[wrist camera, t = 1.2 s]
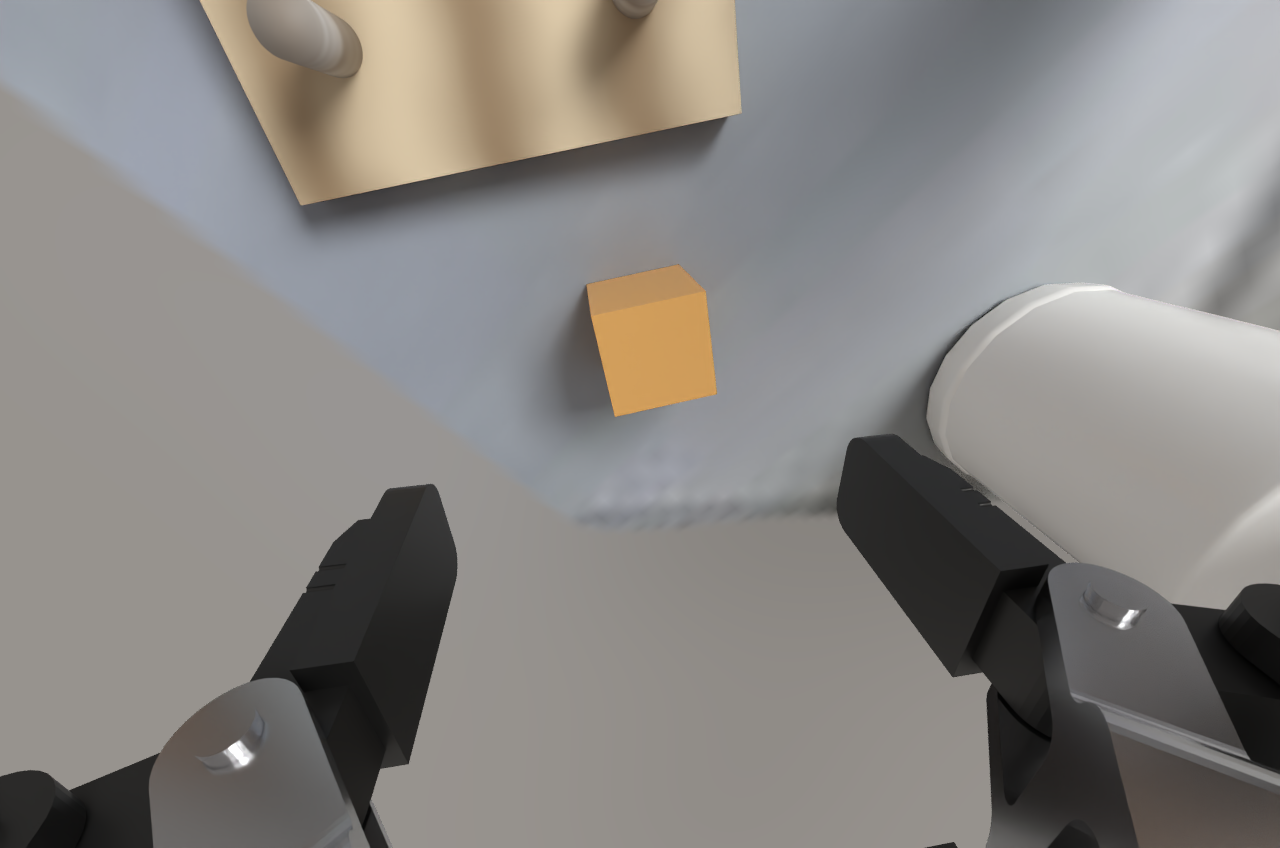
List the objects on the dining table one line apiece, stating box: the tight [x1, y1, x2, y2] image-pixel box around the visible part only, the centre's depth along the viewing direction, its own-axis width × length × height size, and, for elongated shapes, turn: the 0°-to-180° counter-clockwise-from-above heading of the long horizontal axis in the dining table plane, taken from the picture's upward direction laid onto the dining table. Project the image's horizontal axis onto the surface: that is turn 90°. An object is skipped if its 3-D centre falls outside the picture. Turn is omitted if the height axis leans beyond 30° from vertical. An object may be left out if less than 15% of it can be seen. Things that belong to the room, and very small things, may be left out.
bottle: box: [926, 283, 1280, 610], centre depth 21 cm, size 14×14×28 cm
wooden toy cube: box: [586, 264, 717, 417], centre depth 25 cm, size 5×5×6 cm
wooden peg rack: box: [200, 0, 741, 205], centre depth 18 cm, size 20×10×6 cm, turn 100°
